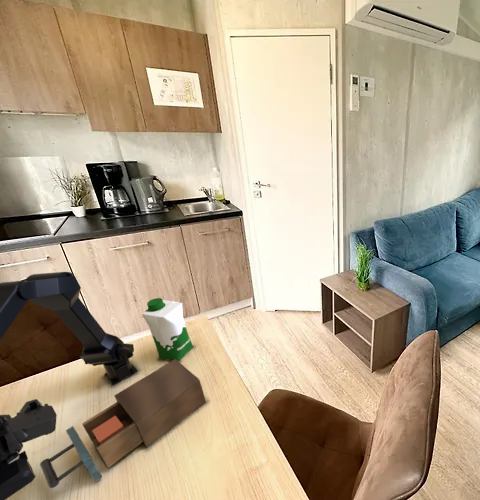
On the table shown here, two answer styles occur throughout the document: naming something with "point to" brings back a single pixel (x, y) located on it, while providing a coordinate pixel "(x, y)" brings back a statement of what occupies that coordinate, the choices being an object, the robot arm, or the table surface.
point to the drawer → (97, 444)
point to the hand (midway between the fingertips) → (18, 484)
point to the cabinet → (162, 400)
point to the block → (108, 430)
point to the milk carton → (168, 328)
